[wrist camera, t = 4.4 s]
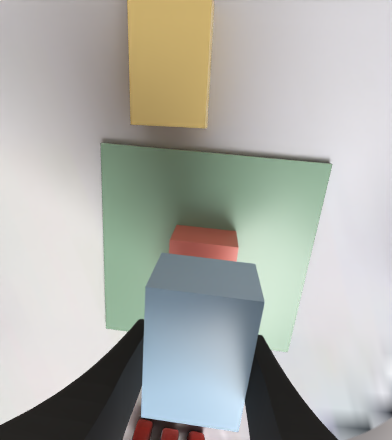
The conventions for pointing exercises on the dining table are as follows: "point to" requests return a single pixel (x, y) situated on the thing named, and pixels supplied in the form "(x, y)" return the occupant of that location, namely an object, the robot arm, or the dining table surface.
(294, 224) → the baseplate
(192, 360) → the slate-blue brick
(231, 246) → the red base brick
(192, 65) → the ochre brick
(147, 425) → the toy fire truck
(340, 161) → the dining table surface
